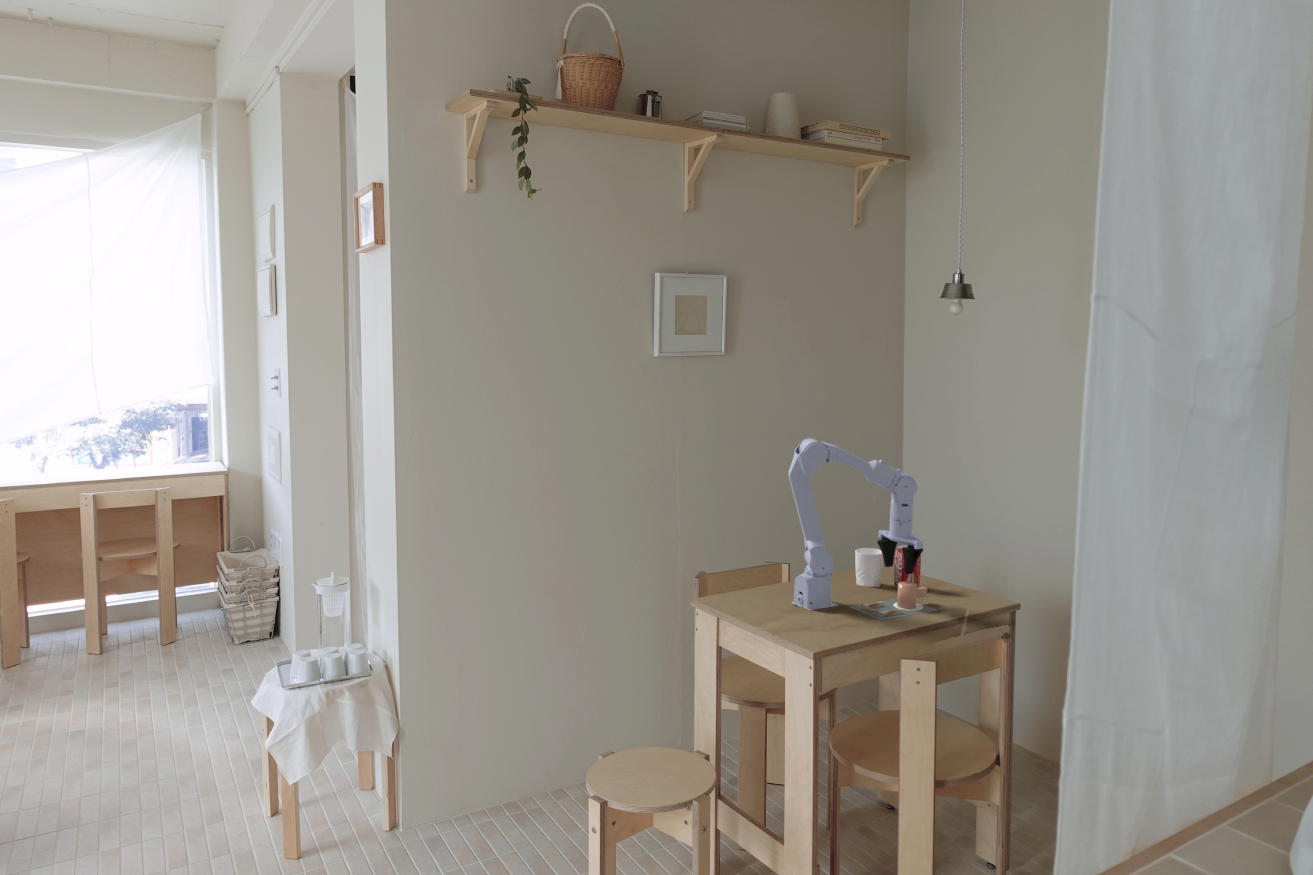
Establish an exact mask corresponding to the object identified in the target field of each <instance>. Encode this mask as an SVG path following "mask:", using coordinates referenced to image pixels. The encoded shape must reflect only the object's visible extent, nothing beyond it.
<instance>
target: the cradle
mask: <svg viewBox="0 0 1313 875" xmlns="http://www.w3.org/2000/svg"><path fill="white" fill-rule="evenodd" d="M883 603H884V602H883V601H876V602H875V601H874V602H870V603H869V602H868V603H864V604H863V603H862V604H860V605H861V607H860V609H863V610H865V611H867V612H870V613H872V614H875V615H877V616H879V617H883V616H888V615H894V614H900V613H902V609H900V608H899V609H894V610H888V611H882V612H880V611H878V610H875V609H873V608H874V607H880V606H883Z"/></svg>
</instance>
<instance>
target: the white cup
mask: <svg viewBox="0 0 1313 875" xmlns="http://www.w3.org/2000/svg"><path fill="white" fill-rule="evenodd" d="M854 554H855V555H854V556H855V557H854V559H855V562H854V565H855V568H854V569H855V577H856V580H855V584H856V585H857V586H862V587H871V588H874V587H875V588H880V587H881V582H882V581H881V578H882V575H883V564H884V559H883V555H882V552H881V549H880V548H879V549H878V548H874V547H873V548H872V547H861V548H860V547H859V548H856V549H855V551H854Z"/></svg>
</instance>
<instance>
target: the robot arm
mask: <svg viewBox="0 0 1313 875" xmlns="http://www.w3.org/2000/svg"><path fill="white" fill-rule="evenodd" d="M825 462H826V463H828V464H832V463H836V462H837V463H840V464H842V465H845V466H848V467H849V468H852V469H854V470H857V471H858V472H861V473H863V475H864V478H865V480H866V481H868V482H870V483H873V484H874V485H876V486H879V487H881V488H883V489H885V490H888V491H889V490H890V491H891V498H890V499H891V500H890V509H889V510H890V511H889V530H886V529H882V530H878V538H879V539H878V540H877V543H876V544H877V545H878V546H879V550H881V552H882V555H883V564H884V567H885V568H891V567H893V566H894V563H895V553H896V550H897V549H896V548H897V547H898V546H897V545H898V544H900V545H902V544H904V545H907V546H908V547H903V548H902V552H903V556H904V570H905V574H913V570H914V567H915V564H916V562H917V560H918V558H919V556H920V554H921V555H922V553H923V552H924V547H923V545H924V541H923V540H921V539H919V538H917V537H915V535H914V534H913V519H914V518H913V517H914V496H915V494H916V493H917V491H918V488H919V487H918V486H917V482H916V480H915V478H913V476H911V475H909V474H907V473H905V472H904V471H902V469H901V468H897V469H896V468H895V467H892V466H890V465H887V464H886V461H884V460H882V459H879V460H877V459H873V460H870V461H867V460H865V459H864V458H861V457H859V456H857V455H855V454H853V453H851V452H849V451H847V450H845V449H843V448H842V447H839V446H837V445H835V444H831V443H828V442H825V441H822V440H821V441H819V440H818V439H816V438H814V437H807V438H804V439H802V440H801V442H799V443H798V445H797V446H796V447H795V449H794V453H793V458H792V461H791V464H790V466H789V469H788V480H789V483H790V487H791V491H792V496H793V500H794V503H795V507H796V511H797V515H798V519H799V523H800V526H801V527H800V528H801V531H802V534H803V537H804V538H803V541H804V542H803V543H804V553H803V556H804V557H803V558H804V560H805V562H806V566H805V568H804V571H803V573H801V574H798V575H797V576H796V577H795V579H794V584H793V589H794V590H793V601H791V604H792V605H795V606H797V607H799V608H800V607H802V608H804V609H805V610H809V611H813V610H820V609H825V608H831V607H832V608H833V607H837V606H839V604H837V603H835V602H832V593H833V591H832V590H833V589H832V588H833V584H832V583H833V568H834V566H835V560H834V558H833V555H831V554H830V552H829V551H828V548H827V545H826V542H825V540H824V536H823V533H822V529H821V524H820V520H819V517H818V513H817V509H816V506H815V502H814V498H813V493H812V490H811V485H810V481H809V479H810V477H811V476H812V474H813V473H814V472H815V470H817V469H818V468H819V467H820V466H822V465H823V464H824V463H825Z"/></svg>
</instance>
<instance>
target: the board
mask: <svg viewBox="0 0 1313 875" xmlns="http://www.w3.org/2000/svg"><path fill="white" fill-rule="evenodd" d="M882 602H884V603H883V606H880V607H874V608H873V609H875V610H878V611H880V612H882V611H888V610H894V609H899V607H898V606H897V598H896V599H889V600H885V601H882ZM861 605H862V604H859V605H855V606H850V607H849V609H850V608H851V609H853V610H855V611H858V612H860V613H862V614H865V615H868V616H870V617H871V618H874V619H877V620H879V621H886V620H887V621H888V620H892V619H898V618H903V617H908V616H913V615H914V616H915V615H919V614H925V613H932V612H937V611H938V609H936V608H934V607H930V606H928V605H925V604H923V603H920V602H919V601H918V602H917V601H916V608H915V609H903V608H900V609H902V613H900V614H894V615H888V616H883V617H879V616H877V615H875V614H872V613H870V612H867V611H865V610H863V609H860V607H861Z"/></svg>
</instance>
